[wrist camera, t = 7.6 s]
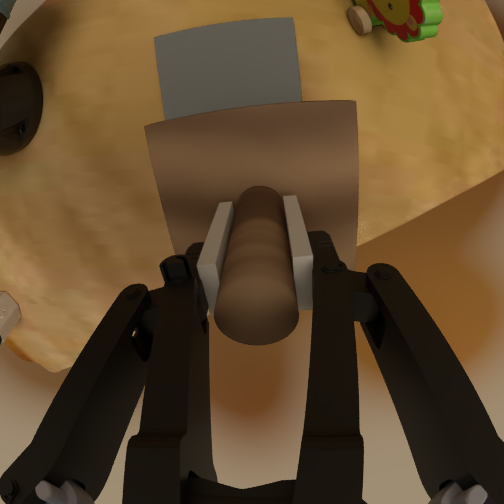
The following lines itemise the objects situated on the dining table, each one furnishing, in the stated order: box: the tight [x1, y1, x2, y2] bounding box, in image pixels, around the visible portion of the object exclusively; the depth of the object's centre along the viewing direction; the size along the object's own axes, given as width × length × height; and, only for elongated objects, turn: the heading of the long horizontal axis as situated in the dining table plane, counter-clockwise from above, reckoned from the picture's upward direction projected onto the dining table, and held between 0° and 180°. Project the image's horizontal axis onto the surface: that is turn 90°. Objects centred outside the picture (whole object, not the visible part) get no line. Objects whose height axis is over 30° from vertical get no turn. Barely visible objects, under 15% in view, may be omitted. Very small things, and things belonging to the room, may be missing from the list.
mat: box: [154, 17, 302, 120], centre depth 29 cm, size 16×16×1 cm
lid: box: [144, 100, 359, 345], centre depth 15 cm, size 13×13×11 cm
